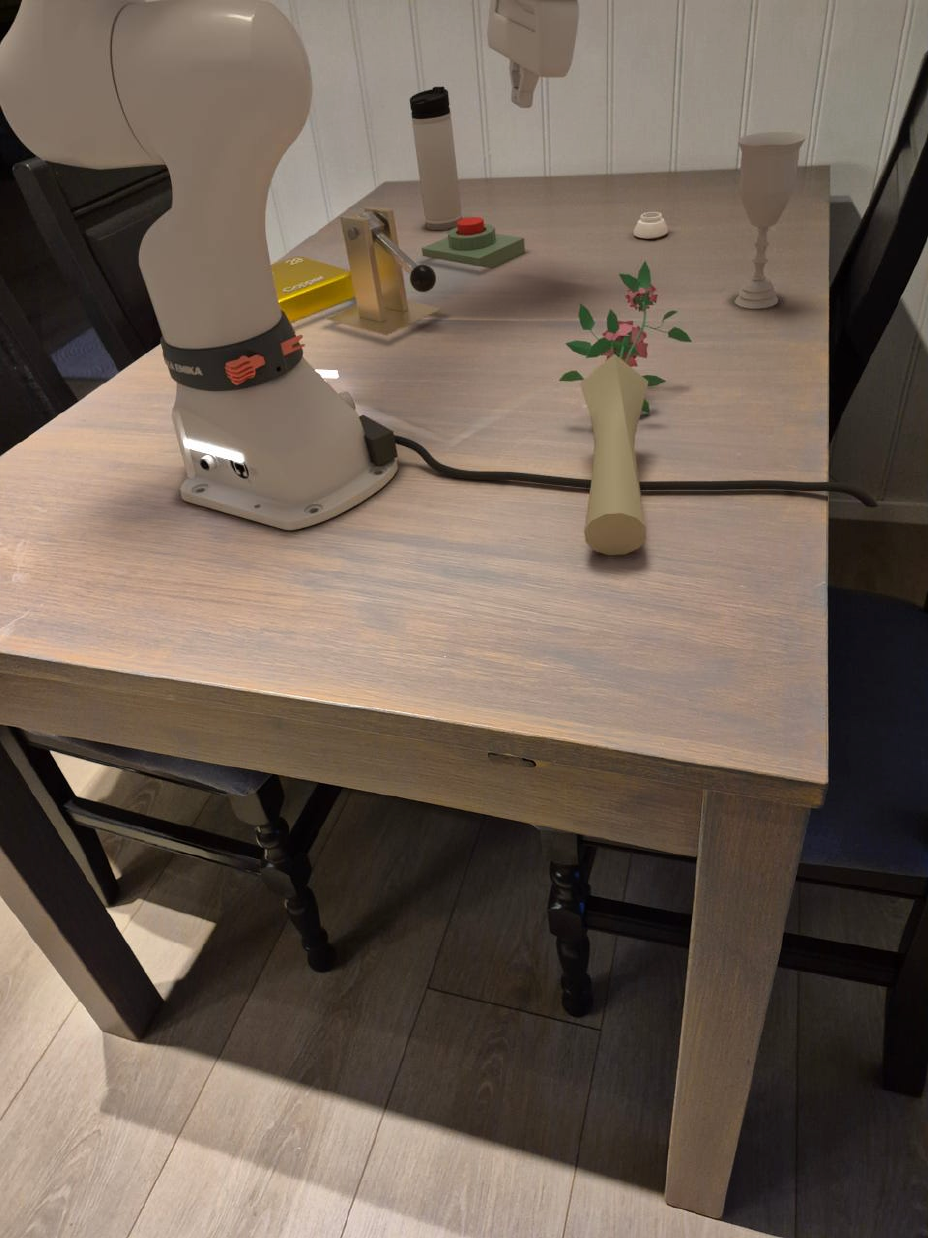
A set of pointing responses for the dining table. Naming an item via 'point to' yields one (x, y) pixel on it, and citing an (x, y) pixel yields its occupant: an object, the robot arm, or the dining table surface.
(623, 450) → the flower vase
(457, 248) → the button block
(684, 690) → the dining table surface
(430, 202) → the travel mug
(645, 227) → the white jar
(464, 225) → the button
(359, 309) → the bracket
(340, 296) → the element tile
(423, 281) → the lever
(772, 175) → the chalice
